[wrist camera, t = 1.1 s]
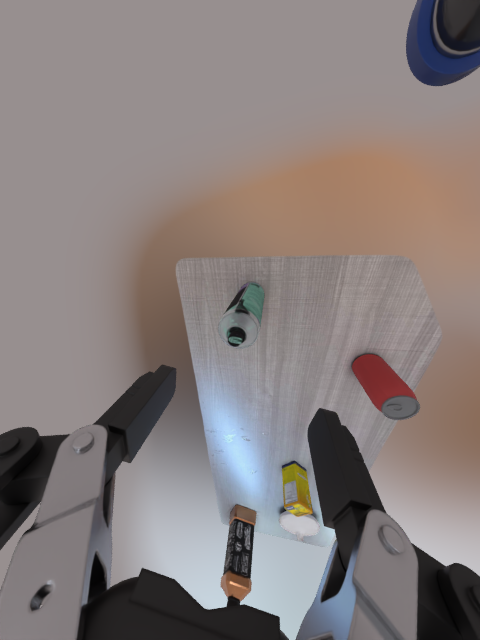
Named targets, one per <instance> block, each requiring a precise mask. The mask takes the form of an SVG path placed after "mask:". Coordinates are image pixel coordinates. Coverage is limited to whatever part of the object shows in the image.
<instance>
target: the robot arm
mask: <svg viewBox="0 0 480 640" xmlns="http://www.w3.org/2000/svg"><path fill="white" fill-rule="evenodd" d="M430 32H431V38H432V41H433V44H434V46H435V48H436V49H437V50H438V51H439V52H440V53H441V54H442V55H444V56H446V57H449V58H463V57H467V56H470V55H472V54H475V53H477V52H479V51H480V0H434V3H433V7H432V12H431V19H430ZM175 388H176V368H173V367H169V366H166V365H161V366H160V367H159V368H158V369H157V371H155V373H153V372H148V373H146V374H144V375H143V376H141V377H139V378H138V379H137V380H136V381H135V383H133V385H132V386H131V387H130V388H129V389H128V390H127V391H126V392H125V393H124V394H123V395H122V396H121V397H120V398H119V399H118V400H117V401H116V402H115V403H114V404H113V405H112V406H111V407H110V408H109V409H108V410H107V411H106V412H105V413H104V414H103V415H102V416H101V417H100V418H99V419H98V420H97V421H96V422H95V423H94V424H93V425H88V426H85V427H82V428H80V429H78V430H76V431H75V432H73V433H72V434H68V435H53V436H39V434H38V432H37V430H36V429H34V428H32V427H22V428H17V429H13V430H10V431H8V432H5V433H3V434H1V435H0V550H1V549H2V547H3V546H4V545H5V544H6V542H7V541H8V540H9V539H10V538H11V537H12V535H13V534H14V533H15V532H16V531H17V529H18V528H19V527H20V526H21V525H22V523H23V522H24V521H25V520H26V519H27V517H28V516H29V515H30V514H31V513H32V511H33V510H34V509H35V508H36V507H37V505H38V504H39V503H40V502H41V504H40V508H39V510H38V513H37V516H36V519H35V522H34V524H33V525H32V527H31V528H30V529H29V530H27V531H26V532H25V533H24V534H23V535H22V537H21V538H20V540H19V542H18V544H17V546H16V549H15V551H14V553H13V556H12V559H11V561H10V564H9V567H8V570H7V573H6V576H5V579H4V582H3V584H2V587H1V590H0V640H289V639H288V638H287V637H286V636H285V634H284V633H283V632H282V631H281V630H280V618H279V617H278V616H275V615H273V614H269V613H267V612H264V611H261V610H258V609H256V608H253V607H250V606H247V605H237V606H230V607H224V608H217V609H211V610H207V609H204V608H203V607H202V606H201V605H200V604H199V603H198V602H197V601H196V600H195V599H194V598H193V597H192V596H191V595H190V594H189V593H188V592H187V591H186V590H185V589H184V588H183V587H181V585H180V584H179V583H178V582H177V581H176V580H175V579H172V578H169V577H166V576H164V575H161V574H158V573H155V572H152V571H150V570H147V569H144V568H142V569H141V572H140V574H139V577H134V578H130V579H127V580H124V581H122V582H120V583H118V584H116V585H114V586H112V587H110V578H111V563H112V534H111V533H112V513H113V500H114V487H115V471H116V470H117V468H118V467H119V465H120V464H121V462H122V461H125V462H128V463H131V462H132V460H133V459H134V457H135V455H136V454H137V452H138V450H139V449H140V448H141V446H142V444H143V443H144V441H145V440H146V438H147V437H148V435H149V434H150V432H151V430H152V429H153V427H154V426H155V424H156V423H157V421H158V419H159V418H160V416H161V415H162V413H163V411H164V410H165V408H166V407H167V405H168V404H169V402H170V401H171V399H172V397H173V395H174V392H175ZM308 442H309V448H310V453H311V458H312V464H313V469H314V475H315V480H316V485H317V491H318V496H319V502H320V507H321V512H322V518H323V523H324V526H326V527H329V528H332V529H335V533H336V538H337V539H336V540H335V542H334V545H333V547H332V551H331V553H330V556H329V559H328V562H327V565H326V568H325V571H324V574H323V577H322V580H321V583H320V586H319V589H318V592H317V594H316V597H315V599H314V602H313V604H312V606H311V607H310V609H309V610H308V612H307V613H306V615H305V617H304V620H303V622H302V624H301V626H300V629H299V632H298V635H297V637H296V640H480V576H478V575H477V574H476V573H475V572H473V571H472V570H471V569H469V568H468V567H466V566H464V565H462V564H459V563H454V564H451V565H449V566H444V565H443V564H441V563H440V562H438V561H437V560H436V559H434V558H433V557H431V556H429V555H428V554H427V553H425V552H424V551H422V550H421V549H419V548H418V547H416V546H415V545H414V544H412V543H411V542H410V540H409V538H408V537H407V535H406V534H405V532H404V531H403V529H402V528H401V527H400V526H399V525H398V523H397V522H395V520H393V519H392V518H391V517H390V516H389V515H388V514H387V513H386V511H385V510H384V507H383V505H382V503H381V500H380V498H379V496H378V493H377V491H376V488H375V486H374V484H373V481H372V479H371V477H370V474H369V472H368V469H367V467H366V465H365V463H364V460H363V458H362V455H361V453H360V452H359V448H358V446H357V443H356V441H355V439H354V437H353V436H352V434H351V433H350V432H349V430H348V429H347V427H346V426H343V425H341V423H340V420H339V417H338V415H337V413H336V412H333V411H329V410H326V409H322V408H319V409H318V411H317V412H316V414H315V416H314V418H313V419H312V421H311V423H310V425H309V427H308ZM40 605H43V606H42V607H41V608H40Z"/></svg>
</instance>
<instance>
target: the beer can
mask: <svg viewBox="0 0 480 640" xmlns="http://www.w3.org/2000/svg"><path fill="white" fill-rule="evenodd" d="M352 370H353V372H354V374H355V376H356V377H357V379H358V380H359V382H360V384H361V385H362V387H363V388H364V390H365V392H366V393H367V395H368V396H369V398H370V400H371V401H372V403H373V404H374V405H375V407H376V408H377V409H378V410H379V411H381V412H382V413H383V414H384V415H385V416H386V417H388V418H390V419H394V420H404V419H408V418H411V417H413V416H414V415H416V414H417V413H418V412H419V409H420V404H419V402H418V401H417V399H416V396H415V394H414V393H413V391H412V390H411V389H410V388H409V387H408V385H407V384H406V383H405V382H404V381H403V380H402V379H401V378H400V377H399V376H398V375H397V374H396V373H395V372H394V371H393V370H392V368H391V367H390V366H389V365H388V364H387V363H386V362H385V361H384V360H383V359H382V358H381V357H379V356H377V355H373V354H366V355H362V356H360V357H358V358H357V359H356V360H355V361H354V363H353V365H352Z"/></svg>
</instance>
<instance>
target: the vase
mask: <svg viewBox="0 0 480 640" xmlns="http://www.w3.org/2000/svg"><path fill="white" fill-rule="evenodd" d="M279 523H280V524H281V526H282V527H283V528H284V529H285V530H286V531H288V532H290V533H293V534H296V535H297V539H298V540H299V541H304V539H303V536H312V535H315V534H317V533H318V532H319V530H320V525H319V523H318V521H317V519H316V518H315V517H313V516H312V515H310V514H308V515H304V516H300V517H296V516H295V515H293V514H292V513H290V512H289V511H285V512H283V513H282V514H281V515H280V518H279Z"/></svg>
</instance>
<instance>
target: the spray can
mask: <svg viewBox="0 0 480 640" xmlns="http://www.w3.org/2000/svg"><path fill="white" fill-rule="evenodd" d="M263 303H264V290H263V288H262V286H261V285H259V284H258V283H255V282H248V283H246V284H244V285H243V286H242V287H241V289H240V290H239V292H238V293H237V295H236V296H235V298H234V299H233V301H232V302H231V304H230V306H229V307H228V309H227V310H226V312H225V313H224V315H223V316H222V318H221V320H220V322H219V326H218V332H219V335H220V337H221V339H222V340H223V342H225V343H226V344H227V345H228V346H230V347H233V348H238V349H243V348H247V347H249V346H251V345H252V344H254V342H255V341H256V339H257V337H258V335H259V331H260V324H261V317H262V310H263Z"/></svg>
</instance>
